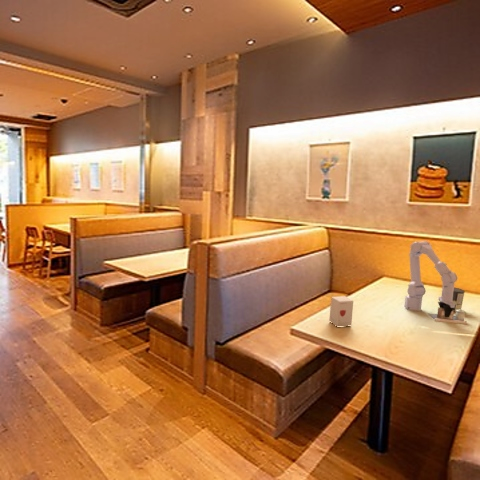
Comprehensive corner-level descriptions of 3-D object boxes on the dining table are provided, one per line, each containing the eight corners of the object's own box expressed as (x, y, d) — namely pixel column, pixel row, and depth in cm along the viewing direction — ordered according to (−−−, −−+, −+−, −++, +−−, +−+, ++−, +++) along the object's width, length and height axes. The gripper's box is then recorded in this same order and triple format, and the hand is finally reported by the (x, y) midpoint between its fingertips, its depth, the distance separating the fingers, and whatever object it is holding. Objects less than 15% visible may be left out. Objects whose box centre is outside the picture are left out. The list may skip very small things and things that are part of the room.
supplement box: (337, 328, 196) (339, 301, 194) (328, 322, 205) (330, 296, 203) (351, 326, 199) (353, 300, 197) (343, 321, 207) (344, 295, 205)
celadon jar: (456, 321, 208) (457, 310, 208) (453, 318, 213) (454, 307, 212) (465, 322, 208) (467, 311, 207) (462, 319, 212) (463, 308, 211)
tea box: (440, 319, 210) (441, 309, 210) (437, 317, 214) (438, 307, 214) (452, 320, 210) (454, 310, 209) (449, 317, 214) (450, 308, 213)
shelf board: (434, 322, 209) (435, 318, 209) (428, 314, 222) (428, 311, 222) (466, 325, 206) (466, 321, 206) (457, 317, 219) (458, 314, 218)
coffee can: (445, 312, 226) (449, 290, 224) (440, 307, 236) (443, 286, 234) (463, 314, 224) (467, 292, 222) (457, 309, 234) (461, 288, 232)
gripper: (434, 289, 217) (432, 311, 219) (446, 296, 203) (444, 319, 205) (446, 289, 217) (444, 311, 219) (459, 297, 203) (456, 320, 205)
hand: (444, 315), depth 212 cm, fingers closed on tea box, 4 cm apart
